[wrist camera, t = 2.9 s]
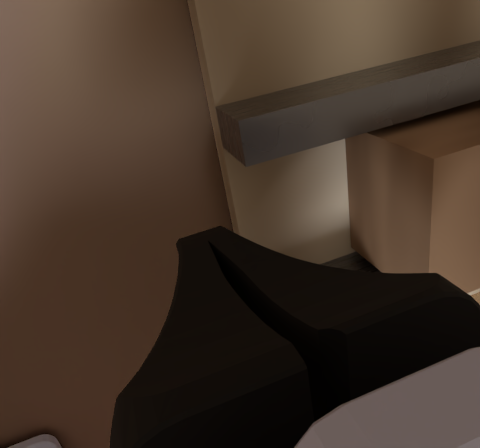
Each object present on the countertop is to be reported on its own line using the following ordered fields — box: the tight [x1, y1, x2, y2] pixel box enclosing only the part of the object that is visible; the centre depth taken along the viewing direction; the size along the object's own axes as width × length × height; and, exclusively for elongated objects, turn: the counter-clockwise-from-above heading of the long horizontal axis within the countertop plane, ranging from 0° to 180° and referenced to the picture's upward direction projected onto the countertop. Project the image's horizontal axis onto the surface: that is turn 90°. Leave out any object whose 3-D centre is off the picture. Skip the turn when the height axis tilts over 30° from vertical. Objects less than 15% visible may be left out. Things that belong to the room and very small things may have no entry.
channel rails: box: [215, 40, 480, 273], centre depth 15 cm, size 13×8×2 cm, turn 100°
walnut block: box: [345, 100, 480, 293], centre depth 14 cm, size 7×5×4 cm, turn 100°
